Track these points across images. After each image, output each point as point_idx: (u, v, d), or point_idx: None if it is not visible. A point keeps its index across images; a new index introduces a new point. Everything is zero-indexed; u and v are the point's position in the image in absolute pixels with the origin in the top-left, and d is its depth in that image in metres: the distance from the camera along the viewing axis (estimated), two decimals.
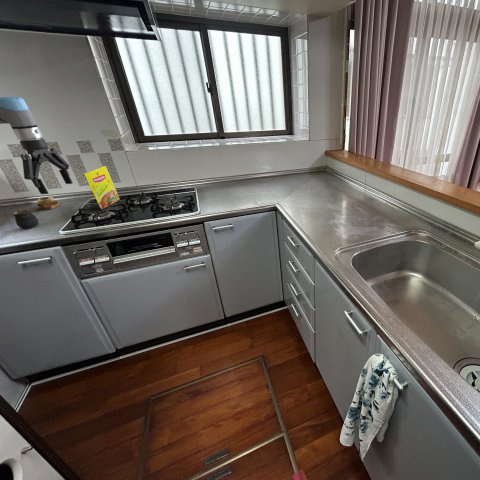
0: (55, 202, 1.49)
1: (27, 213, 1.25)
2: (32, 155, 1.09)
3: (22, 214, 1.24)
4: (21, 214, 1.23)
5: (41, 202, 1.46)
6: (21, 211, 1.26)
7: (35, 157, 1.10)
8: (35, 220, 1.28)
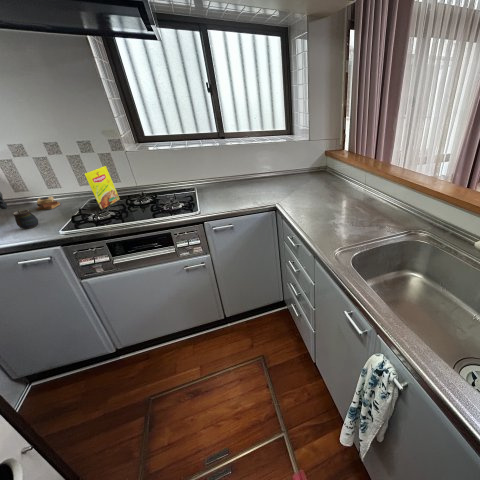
0: (55, 202, 1.49)
1: (27, 213, 1.25)
2: None
3: (22, 214, 1.24)
4: (21, 214, 1.23)
5: (41, 202, 1.46)
6: (21, 211, 1.26)
7: None
8: (35, 220, 1.28)
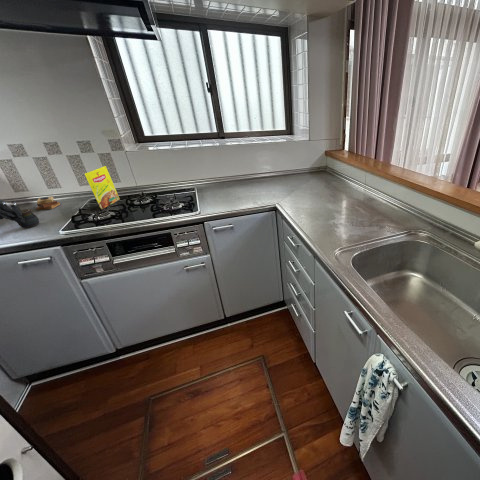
0: (55, 202, 1.49)
1: (28, 212, 1.26)
2: None
3: (22, 213, 1.24)
4: None
5: (41, 202, 1.46)
6: (22, 210, 1.27)
7: None
8: (35, 219, 1.28)
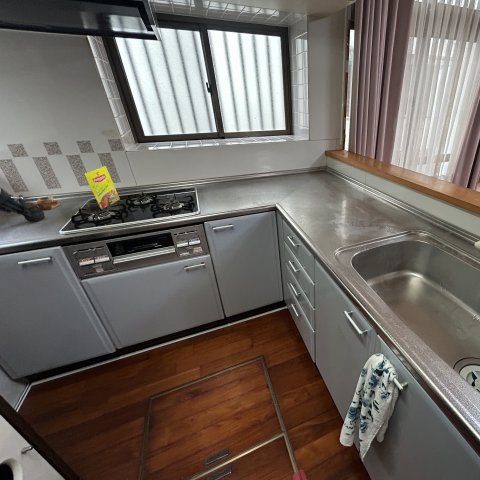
0: (55, 202, 1.49)
1: (34, 207, 1.31)
2: None
3: (29, 208, 1.30)
4: None
5: (41, 202, 1.46)
6: (29, 205, 1.33)
7: None
8: (41, 214, 1.34)
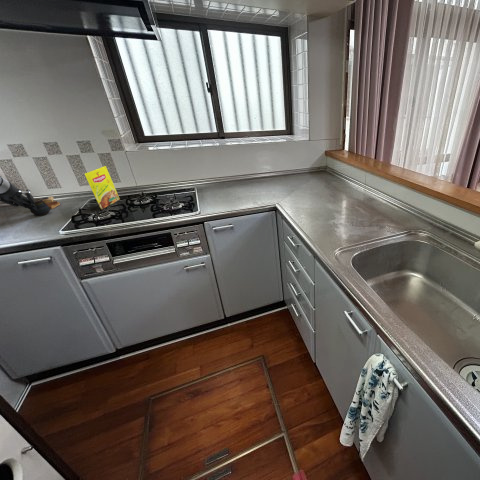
0: (55, 202, 1.49)
1: (40, 201, 1.38)
2: None
3: (35, 202, 1.36)
4: None
5: None
6: (35, 200, 1.39)
7: None
8: (47, 208, 1.41)
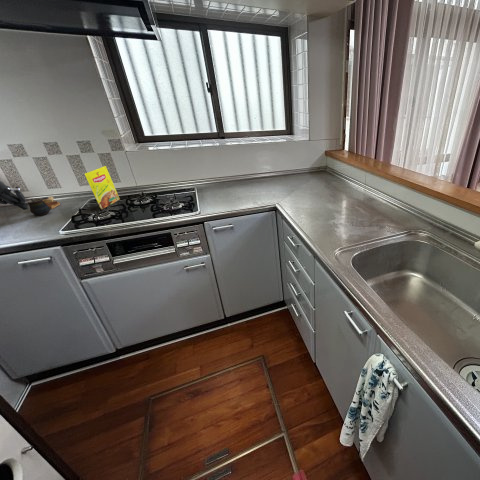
0: (55, 202, 1.49)
1: (40, 201, 1.38)
2: None
3: (35, 202, 1.36)
4: (34, 202, 1.36)
5: None
6: (35, 200, 1.39)
7: None
8: (47, 208, 1.40)
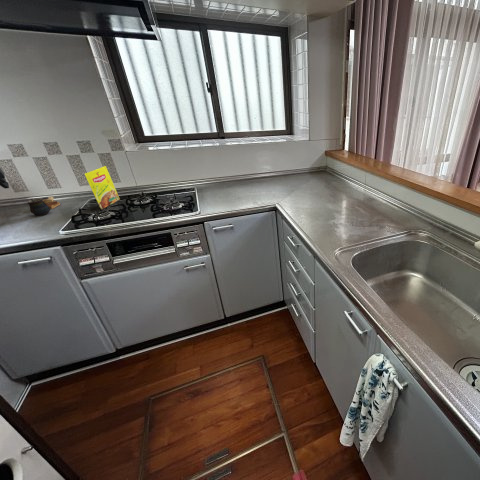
0: (55, 202, 1.49)
1: (40, 201, 1.38)
2: None
3: (35, 202, 1.36)
4: (34, 202, 1.36)
5: None
6: (35, 200, 1.39)
7: None
8: (47, 208, 1.40)
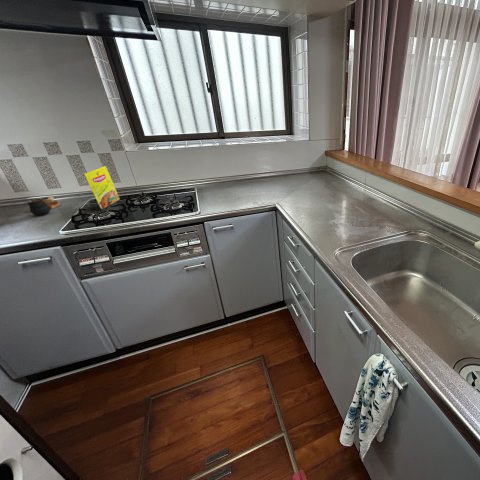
0: (55, 202, 1.49)
1: (40, 201, 1.38)
2: None
3: (35, 202, 1.36)
4: (34, 202, 1.36)
5: None
6: (35, 200, 1.39)
7: None
8: (47, 208, 1.40)
